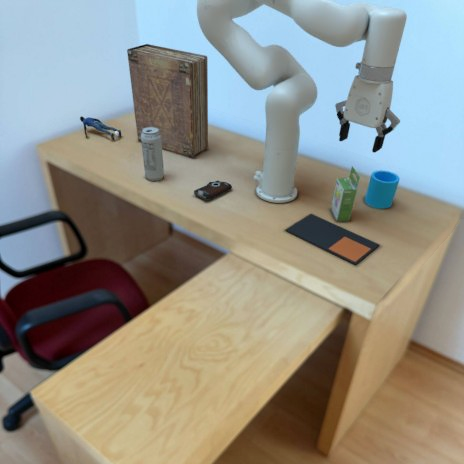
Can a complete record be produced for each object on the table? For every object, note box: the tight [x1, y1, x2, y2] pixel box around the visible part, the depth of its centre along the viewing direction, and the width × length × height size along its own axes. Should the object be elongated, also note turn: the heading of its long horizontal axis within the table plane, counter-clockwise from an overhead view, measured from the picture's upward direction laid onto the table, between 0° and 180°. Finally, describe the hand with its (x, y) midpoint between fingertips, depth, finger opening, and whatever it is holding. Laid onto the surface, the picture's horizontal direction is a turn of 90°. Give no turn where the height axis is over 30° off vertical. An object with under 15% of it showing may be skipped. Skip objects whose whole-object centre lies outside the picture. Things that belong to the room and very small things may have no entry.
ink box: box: [330, 165, 361, 222], centre depth 122 cm, size 7×4×13 cm, turn 5°
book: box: [126, 43, 209, 159], centre depth 149 cm, size 25×9×30 cm, turn 58°
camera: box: [193, 180, 233, 201], centre depth 133 cm, size 6×3×11 cm
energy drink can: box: [140, 127, 165, 182], centre depth 135 cm, size 6×6×15 cm
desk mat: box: [285, 213, 380, 266], centre depth 118 cm, size 22×12×1 cm, turn 47°
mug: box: [364, 169, 401, 210], centre depth 132 cm, size 12×8×8 cm
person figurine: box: [79, 116, 122, 142], centre depth 163 cm, size 11×4×18 cm
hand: (359, 145), depth 113 cm, fingers open, 9 cm apart
